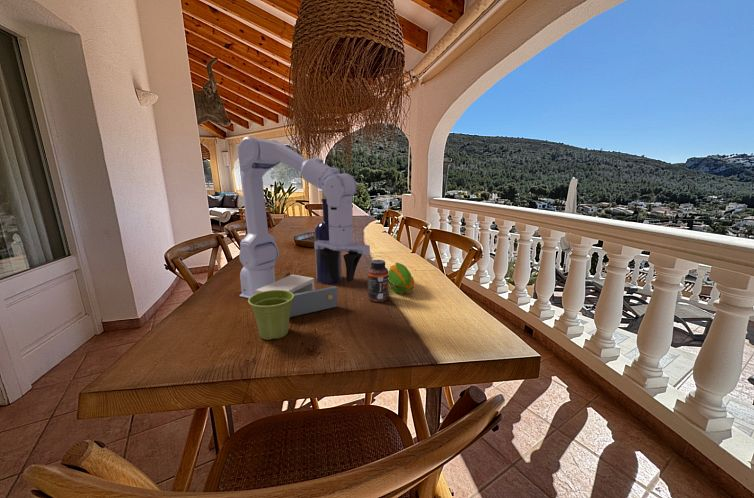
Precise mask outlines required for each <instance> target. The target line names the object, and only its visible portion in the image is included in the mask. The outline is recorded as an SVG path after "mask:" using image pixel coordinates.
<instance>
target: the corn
mask: <svg viewBox="0 0 754 498" xmlns="http://www.w3.org/2000/svg"><path fill="white" fill-rule="evenodd" d="M389 267H390V268H389V269H388V286H389V287H390V289H391V290H392V291H393V292H394V293H396V294H406V295H407V294H408V293H410V292H412V290H414V288H415V287H414V285H415V280H414V277H413V276H412V274H411V272H410V270H409V269H408V268H407V266H405V265H404V264H402V263H400V262H395V264H392V265H391V266H389Z"/></svg>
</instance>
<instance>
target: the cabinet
mask: <svg viewBox="0 0 754 498" xmlns="http://www.w3.org/2000/svg"><path fill="white" fill-rule="evenodd" d="M269 290H286V291H289V292H292V293H293V294H296V293H302V292H307V291H312V290H316V287H315V278H314V277H311V276H310V277H309V276H302V275H297V274H290V275H287V276H285V277H283V278H280V279H278V280H275V282H273V283H271V284H268V285H266V286H264V287H261V288H259V289H257V290H256V294H257V293H260V292H263V291H269Z"/></svg>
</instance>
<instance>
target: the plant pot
mask: <svg viewBox="0 0 754 498" xmlns="http://www.w3.org/2000/svg"><path fill="white" fill-rule="evenodd" d="M293 298H294V294H293V293H292V292H289V291H286V290H269V291H263V292H260V293H257V294H254V295H252V296H251V297H250V298H247V299H248V300H247V302H248V304H249V306H250V307H251V310H252V312H253V314H254V318H255V322H256V326H257V331H258V335H259V337H260V338H261V339H262V340H267V341H268V340H269V341H270V340H273V339H281V338H283V337H286V336H287V334H288V332H289V329H290V328H289V327H290V318H291V317H290V307H291V304H292V300H293Z"/></svg>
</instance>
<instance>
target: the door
mask: <svg viewBox="0 0 754 498" xmlns="http://www.w3.org/2000/svg"><path fill="white" fill-rule="evenodd" d="M336 307H338V287H337V286H329V287H323V288H318V289H315V290H312V291H307V292H302V293H296V294H294V298H293V300H292V304H291V307H290V317H289V318H292V317H297V316H300V315H301V316H302V315H306V314H309V313H314V312H318V311H323V310H328V309H331V308H336Z"/></svg>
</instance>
